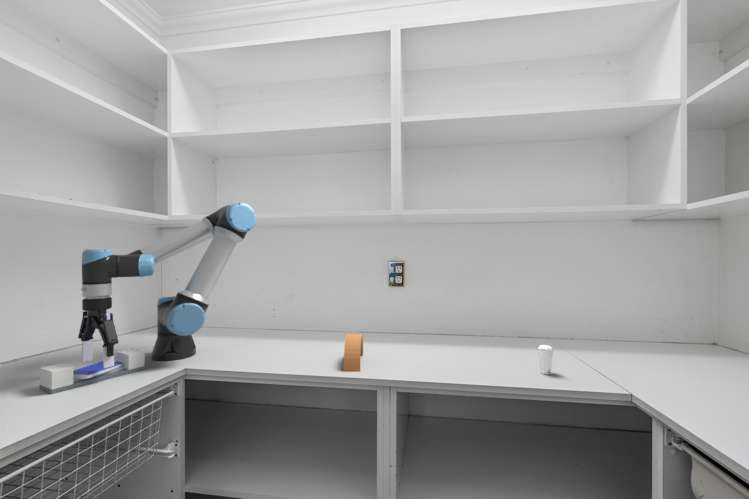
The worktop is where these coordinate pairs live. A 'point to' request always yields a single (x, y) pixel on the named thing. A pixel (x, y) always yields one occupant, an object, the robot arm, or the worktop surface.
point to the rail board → (62, 377)
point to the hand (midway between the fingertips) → (97, 363)
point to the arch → (353, 352)
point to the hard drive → (94, 370)
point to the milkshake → (545, 358)
